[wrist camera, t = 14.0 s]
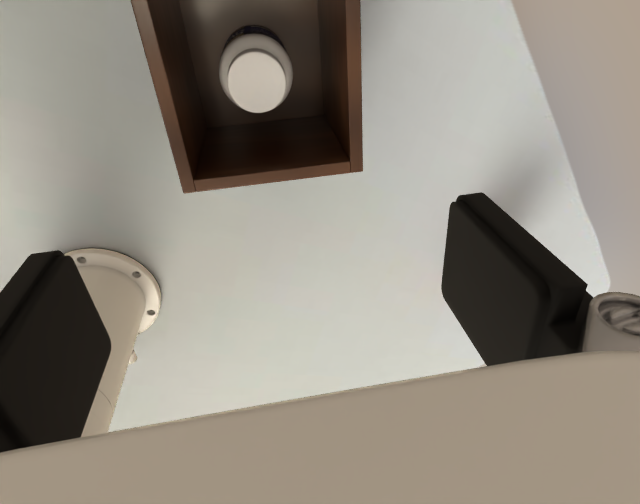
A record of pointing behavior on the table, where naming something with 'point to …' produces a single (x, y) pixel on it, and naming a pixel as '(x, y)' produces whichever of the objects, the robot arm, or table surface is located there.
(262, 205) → the table surface
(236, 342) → the table surface
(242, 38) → the pill bottle
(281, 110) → the chest
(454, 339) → the table surface
